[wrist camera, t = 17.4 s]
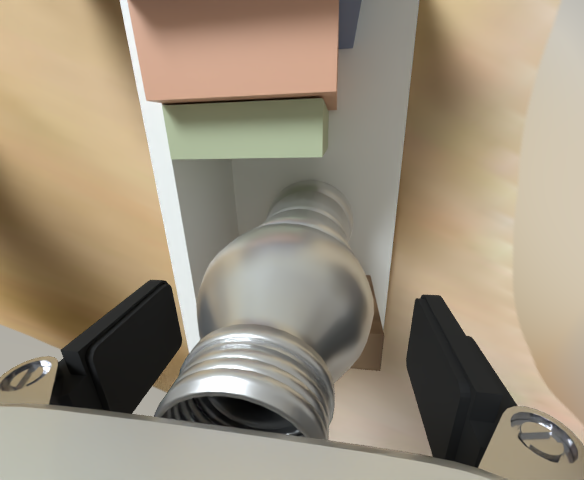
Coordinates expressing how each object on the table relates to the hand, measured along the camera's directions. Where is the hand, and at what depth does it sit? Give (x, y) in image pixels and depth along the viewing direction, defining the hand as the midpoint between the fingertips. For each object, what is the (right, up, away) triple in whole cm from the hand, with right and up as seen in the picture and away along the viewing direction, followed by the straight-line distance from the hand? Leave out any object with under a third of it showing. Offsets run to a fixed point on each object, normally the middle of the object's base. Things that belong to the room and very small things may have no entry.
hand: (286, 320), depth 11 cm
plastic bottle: (+2, +5, +14) cm, 15 cm away
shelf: (+2, +7, +14) cm, 16 cm away
